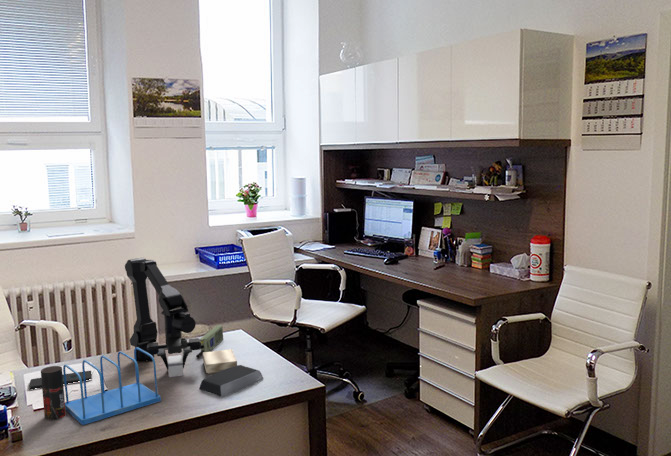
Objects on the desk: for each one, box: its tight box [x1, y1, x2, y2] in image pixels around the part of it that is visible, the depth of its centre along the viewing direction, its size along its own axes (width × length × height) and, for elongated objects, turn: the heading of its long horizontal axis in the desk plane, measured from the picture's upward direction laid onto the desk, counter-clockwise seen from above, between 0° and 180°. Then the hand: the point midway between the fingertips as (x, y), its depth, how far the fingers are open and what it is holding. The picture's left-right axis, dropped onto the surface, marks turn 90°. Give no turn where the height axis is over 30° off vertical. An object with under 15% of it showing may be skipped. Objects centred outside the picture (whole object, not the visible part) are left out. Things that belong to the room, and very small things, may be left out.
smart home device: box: [29, 370, 93, 390], centre depth 218 cm, size 8×2×20 cm
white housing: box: [166, 354, 184, 378], centre depth 224 cm, size 5×8×5 cm, turn 17°
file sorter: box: [62, 347, 162, 426], centre depth 196 cm, size 25×17×15 cm
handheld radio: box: [195, 324, 224, 358], centre depth 250 cm, size 7×3×25 cm
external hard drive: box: [198, 364, 264, 398], centre depth 212 cm, size 13×19×4 cm
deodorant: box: [40, 365, 67, 421], centre depth 189 cm, size 6×6×15 cm
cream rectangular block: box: [202, 348, 238, 376], centre depth 229 cm, size 11×14×4 cm
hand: (175, 369), depth 225 cm, fingers closed on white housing, 5 cm apart
